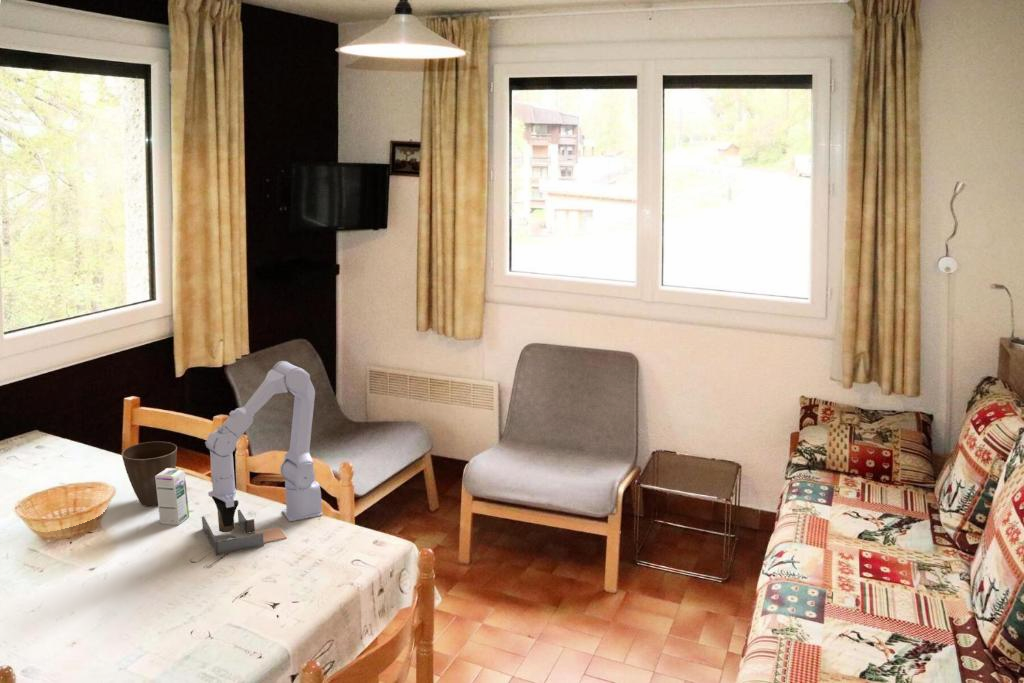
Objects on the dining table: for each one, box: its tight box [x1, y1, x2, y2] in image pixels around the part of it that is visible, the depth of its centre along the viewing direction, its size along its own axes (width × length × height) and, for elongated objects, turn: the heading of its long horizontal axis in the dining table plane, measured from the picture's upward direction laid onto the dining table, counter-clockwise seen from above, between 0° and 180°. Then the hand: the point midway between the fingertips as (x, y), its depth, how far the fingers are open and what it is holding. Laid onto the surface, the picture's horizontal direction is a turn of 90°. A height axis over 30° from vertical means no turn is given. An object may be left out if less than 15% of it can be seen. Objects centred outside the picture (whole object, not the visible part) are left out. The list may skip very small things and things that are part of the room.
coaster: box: [253, 526, 288, 544], centre depth 252 cm, size 7×7×1 cm
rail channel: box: [201, 509, 265, 557], centre depth 251 cm, size 12×18×4 cm
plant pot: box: [121, 441, 178, 508], centre depth 272 cm, size 15×15×16 cm
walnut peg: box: [216, 507, 236, 533], centre depth 252 cm, size 4×4×7 cm
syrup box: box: [155, 468, 190, 526], centre depth 260 cm, size 6×6×14 cm
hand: (226, 522), depth 252 cm, fingers closed on walnut peg, 4 cm apart
